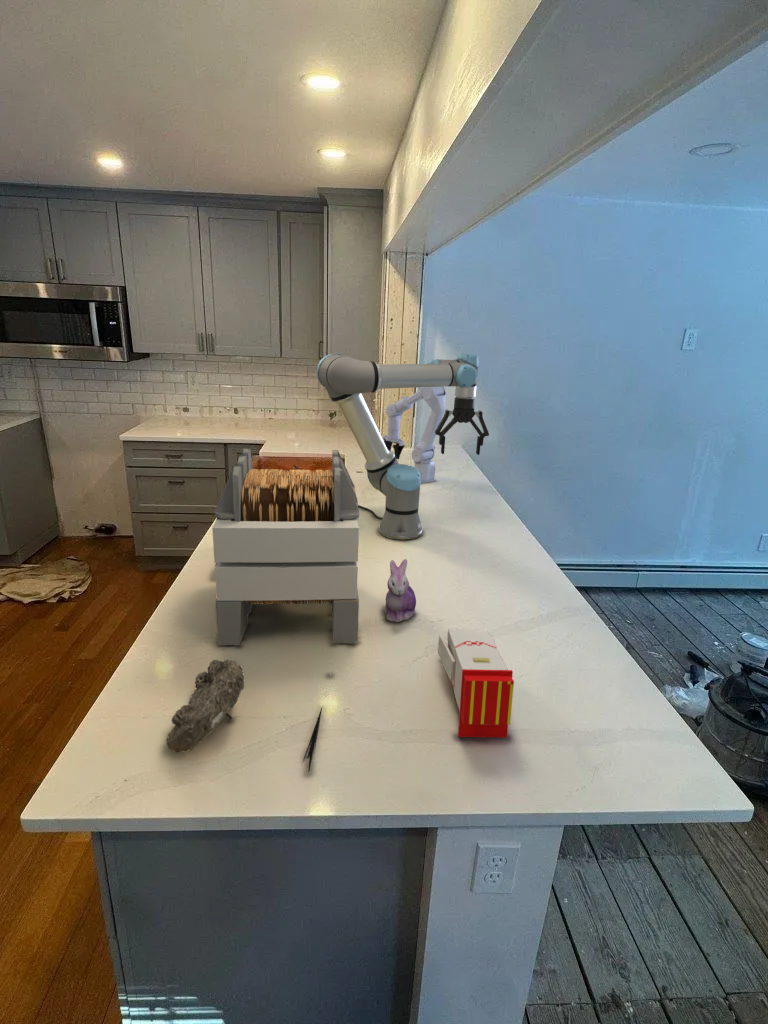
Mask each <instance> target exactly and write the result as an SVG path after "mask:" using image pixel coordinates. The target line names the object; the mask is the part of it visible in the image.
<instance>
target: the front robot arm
mask: <svg viewBox="0 0 768 1024" xmlns="http://www.w3.org/2000/svg"><path fill="white" fill-rule="evenodd" d="M479 362H480V361H479V356H478V354H476V353H459V354H458V355H457V358H456V359H438V358H436V359H430V360H429V361H427V363H396V364H395V363H394V364H393V363H391V364H390V363H389V364H387V363H386V364H384V363H383V364H378V363H377V362H376V361H374V360H363V359H362V360H361V359H357V358H353V357H350V356H346V355H343V354H341V353H330V354H327V355H325V356H323V357H322V358H321V359H320V360H319V362H318V364H317V366H316V377H317V380H318V382H319V383H320V385H321V386H323V387H324V388H325V390H326V393H327V394H328V396H329V398H330V401H332V402H333V403H336V404H338V406H339V408H340V411H341V412H342V414H343V416H344V418H345V420H346V422H347V424H348V426H349V428H350V431H351V432H352V434H353V437H354V438H355V441H356V442H357V445H358V446H359V449H360V451H361V452H362V455H363V457H364V459H365V463H364V469H365V470H366V474H367V475H366V476H367V480H368V481H369V483H370V485H371V486H372V487H373V488H374V489H376V490H377V491H379V492H380V493H381V494H382V495H384V496H385V504H384V505H385V507H384V508H385V509H384V513H383V515H382V516H378V515H377V514H376V513H375V511H373V510H372V509H370V508H368V507H365V506H362V505H360V504H358V507H359V509H362V510H364V511H367V512H369V513H370V514H372V516H374V518H375V519H378V520H381V522H379V525H378V533H379V534H380V535H381V536H382V537H385V538H387V539H389V540H395V541H410V540H415V539H418V538H420V537H421V536H422V535H423V525H422V521H421V518H420V515H419V507H420V506H419V505H420V496H421V495H420V494H421V493H420V492H421V484H422V483H421V479H420V472H419V471H418V470H417V469H416V468H414V466H412V465H409V464H403V463H399V461H398V459H396V457H395V454H394V451H392V450H391V451H388V449H387V447H386V445H385V443H384V440H383V436H382V435H381V433H380V430H379V427H378V425H377V424H376V422H375V420H374V418H373V415H372V412H371V411H370V409H369V407H368V405H367V403H366V400H365V398H364V397H363V394H368V393H377V391H378V390H384V389H385V390H386V389H387V390H388V389H412V388H413V389H415V388H424V387H451V388H452V387H455V388H454V389H455V391H454V396H455V397H454V401H453V410H449V409H447V408H445V411H444V414H443V416H442V419H441V422H440V423H439V425H438V427H437V429H436V430H435V434H436V436H438V437H439V438H438V439H439V440H438V444H439V446H441V447H440V453H441V454H442V455H445V447H446V436H445V435H446V434H447V433H448V432H449V431H450V430H451V429H452V428H453V427H454V425H456V424H457V423H460V424H462V423H465V424H468V423H470V424H471V426H472V428H474V430H475V432H477V434H478V435H479V436H477V437H476V438H477V440H476V446H475V448H476V449H475V454H476V455H478V456H479V455H480V454H481V447H482V446H484V438H485V437H489V436H490V433H489V430H488V428H487V425H486V422H485V420H484V417H483V415H484V414H483V411H482V410H480V409H479V410H476V411H475V406H476V405H475V404H476V395H477V382H478V373H479ZM451 416H453V417H452V419H451V420H450V421H449V422H448V423H447V424H446V422H447V421H448V420H449V417H451ZM475 416H476V417H477V418H478V421H479V423H480V426H481V429H482V430H481V429H480V428H479V426H478V425H477V423H476V422H475V420H474V419H473V418H474V417H475ZM444 426H445V427H444ZM293 467H294V468H295V470H301V469H300V468H299V467H298V466H297V465H296V464H293Z"/></svg>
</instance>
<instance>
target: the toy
mask: <svg viewBox="0 0 768 1024" xmlns="http://www.w3.org/2000/svg"><path fill="white" fill-rule="evenodd" d="M446 640H447V643H446V641H445V639H444V636H443V635H442V634H439V637H438V646H437V656H438V657H439V659H440V661H441V663H442V666H443V668H444V670H445V672H446V674H447V677H448V679H449V681H450V684H451V687H452V690H453V693H454V697H455V701H456V705H457V708H458V711H459V714H458V715H459V716H458V730H457V731H458V732H457V737H458V738H508V731H509V726H510V725H511V717H512V707H513V697H514V696H513V695H514V684H515V680H514V679H513V673H514V671H513V670H512V669H508V667H507V665H506V662H505V661H504V659H503V658H502V655H501V653H500V651H499V649H498V647H497V643H496V639H495V637H494V635H493V634H491V632H490V631H489V629H467V628H466V629H465V628H463V629H461V628H460V629H459V628H448V630H447V639H446Z"/></svg>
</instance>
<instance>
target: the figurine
mask: <svg viewBox="0 0 768 1024" xmlns="http://www.w3.org/2000/svg"><path fill="white" fill-rule="evenodd" d="M407 567H408V559H406V558H404V559H403V560H402V561H401V563H400V565H399V566H398V565H397V563H396V562H395V561H394V560H393V559H391V560H390V561H389V570H390V576H389V578H388V579H387V589H388V591H387V592H386V594H385V595H386V596H385V607H384V615H385V616H386V620H387V621H391V622H395V623H400V622H402V621H406V620H409V619H410V618H411V617H413V616H414V615H415V610H416V606H417V597H416V593H415V591H414V590H413V587H411V586H410V582H409V579H408V577H407V574H406V571H407Z"/></svg>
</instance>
